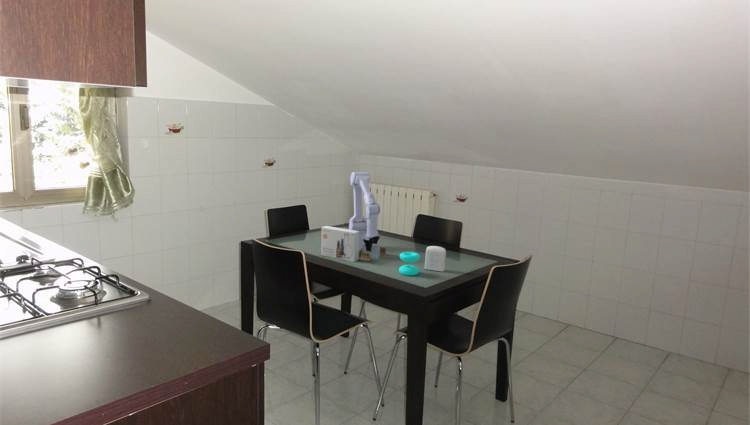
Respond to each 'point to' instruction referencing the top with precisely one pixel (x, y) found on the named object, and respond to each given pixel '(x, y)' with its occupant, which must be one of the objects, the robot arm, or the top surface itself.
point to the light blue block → (373, 250)
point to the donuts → (409, 269)
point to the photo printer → (435, 258)
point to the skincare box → (340, 243)
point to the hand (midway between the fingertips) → (371, 250)
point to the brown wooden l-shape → (382, 251)
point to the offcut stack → (365, 256)
